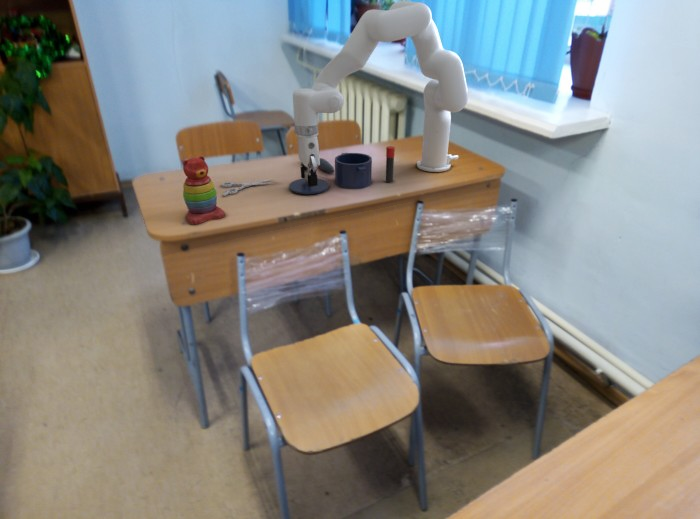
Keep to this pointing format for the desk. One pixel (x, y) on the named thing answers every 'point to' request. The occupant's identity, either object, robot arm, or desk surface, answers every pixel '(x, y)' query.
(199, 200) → the stacking bear
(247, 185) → the scissors
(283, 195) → the desk surface
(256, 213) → the desk surface
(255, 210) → the desk surface
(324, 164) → the grey microphone
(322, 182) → the lid
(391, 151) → the marker
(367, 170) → the pot
